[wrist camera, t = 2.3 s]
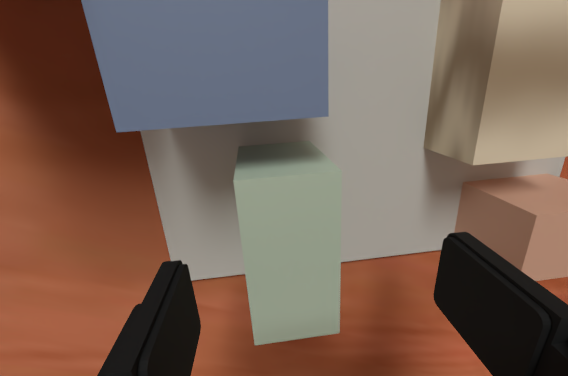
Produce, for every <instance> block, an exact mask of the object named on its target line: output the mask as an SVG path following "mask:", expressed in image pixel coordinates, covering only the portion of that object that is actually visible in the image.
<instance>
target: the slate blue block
mask: <svg viewBox="0 0 568 376" xmlns="http://www.w3.org/2000/svg"><path fill="white" fill-rule="evenodd" d="M81 2H82V5H83V9H84V13H85V17H86V20H87V24H88V28H89V32H90V35H91V39H92V43H93V47H94V50H95V54H96V58H97V62H98V65H99V69H100V73H101V77H102V80H103V84H104V88H105V92H106V95H107V99H108V103H109V107H110V110H111V114H112V118H113V122H114V125H115V129H116V132H130V131H143V130H156V129H170V128H183V127H196V126H209V125H223V124H236V123H249V122H263V121H276V120H289V119H303V118H316V117H329V101H328V0H81Z"/></svg>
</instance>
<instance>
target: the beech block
mask: <svg viewBox="0 0 568 376" xmlns="http://www.w3.org/2000/svg"><path fill="white" fill-rule="evenodd" d="M424 148H426V149H428V150H431V151H434V152H437V153H439V154H442V155H445V156H448V157H451V158H453V159H456V160H459V161H462V162H464V163H467V164H470V165H482V164H493V163H503V162H514V161H524V160H535V159H545V158H556V157H566V156H568V0H441V2H440V11H439V19H438V28H437V36H436V45H435V53H434V62H433V70H432V79H431V88H430V96H429V105H428V113H427V122H426V130H425V139H424Z"/></svg>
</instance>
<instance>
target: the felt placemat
mask: <svg viewBox="0 0 568 376" xmlns="http://www.w3.org/2000/svg"><path fill="white" fill-rule="evenodd" d="M440 2H441V0H328V101H329V117H316V118H303V119H289V120H276V121H263V122H249V123H236V124H223V125H209V126H196V127H183V128H170V129H156V130H143V131H140V132H141V136H142V140H143V144H144V149H145V153H146V157H147V161H148V166H149V170H150V174H151V178H152V183H153V187H154V191H155V195H156V199H157V204H158V208H159V212H160V216H161V221H162V225H163V229H164V233H165V237H166V242H167V246H168V250H169V254H170V259H171V261H177V260H181V261H182V263H183V264H187V265H188V268H189V273H190V277H191V281H192V280H200V279H208V278H217V277H225V276H233V275H241V274H245V267H244V259H243V252H242V244H241V236H240V228H239V221H238V213H237V205H236V197H235V190H234V182H233V180H234V173H235V167H236V161H237V154H238V148H239V146H251V145H263V144H276V143H288V142H300V141H310V142H311V143H312V144H313V145H314V146H316V147H317V148H318V149H319V150H320V151H321V152H322V153H323V154H324V155H325V156H326V157H328V158H329V159H330V160H331V161H332V162H333V163H334V164H335V165H336V166H337V167H338V168H339V169H341V170H342V198H341V262H346V261H354V260H362V259H371V258H379V257H387V256H395V255H403V254H411V253H419V252H427V251H435V250H442V244H443V240H444V238H447V235H448V234H450V233H454V231H455V225H456V219H457V214H458V208H459V202H460V196H461V191H462V185H463V182H468V181H478V180H488V179H498V178H508V177H517V176H527V175H537V174H551V175H554V176H557V177H560V173H561V170H562V167H563V163H564V160H565V157H556V158H545V159H535V160H524V161H514V162H503V163H493V164H482V165H470V164H467V163H464V162H462V161H459V160H456V159H453V158H451V157H448V156H445V155H442V154H439V153H437V152H434V151H431V150H428V149H426V148H424V139H425V130H426V122H427V113H428V105H429V96H430V88H431V79H432V70H433V62H434V53H435V45H436V36H437V28H438V19H439V11H440Z"/></svg>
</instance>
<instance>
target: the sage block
mask: <svg viewBox="0 0 568 376" xmlns="http://www.w3.org/2000/svg"><path fill="white" fill-rule="evenodd" d="M233 182H234V190H235V197H236V205H237V213H238V221H239V228H240V236H241V244H242V252H243V259H244V267H245V275H246V283H247V290H248V298H249V306H250V313H251V321H252V329H253V337H254V344H255V345H262V344H269V343H276V342H282V341H289V340H296V339H303V338H310V337H316V336H323V335H330V334H337V333H340V270H341V198H342V170H341V169H339V168H338V167H337V166H336V165H335V164H334V163H333V162H332V161H331V160H330V159H329V158H328V157H326V156H325V155H324V154H323V153H322V152H321V151H320V150H319V149H318V148H317V147H316V146H314V145H313V144H312V143H311V142H310V141H300V142H288V143H276V144H263V145H251V146H239V148H238V154H237V161H236V167H235V173H234V180H233Z"/></svg>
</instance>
